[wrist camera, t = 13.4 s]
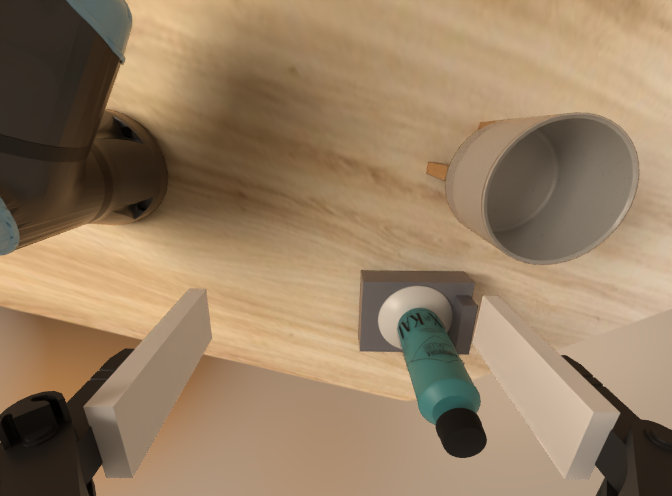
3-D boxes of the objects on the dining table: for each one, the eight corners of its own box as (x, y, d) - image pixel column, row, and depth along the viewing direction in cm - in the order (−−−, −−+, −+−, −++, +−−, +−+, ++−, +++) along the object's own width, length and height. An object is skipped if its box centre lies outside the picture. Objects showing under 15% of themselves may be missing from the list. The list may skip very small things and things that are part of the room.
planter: (504, 222, 46) (603, 271, 29) (418, 213, 45) (466, 257, 28) (532, 128, 41) (667, 122, 24) (437, 117, 41) (507, 103, 24)
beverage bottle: (440, 333, 47) (508, 464, 28) (397, 342, 47) (435, 476, 29) (434, 296, 45) (503, 410, 26) (389, 305, 45) (424, 424, 26)
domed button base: (358, 335, 52) (361, 364, 46) (360, 270, 48) (364, 291, 41) (453, 336, 52) (469, 365, 46) (463, 271, 48) (484, 292, 42)
